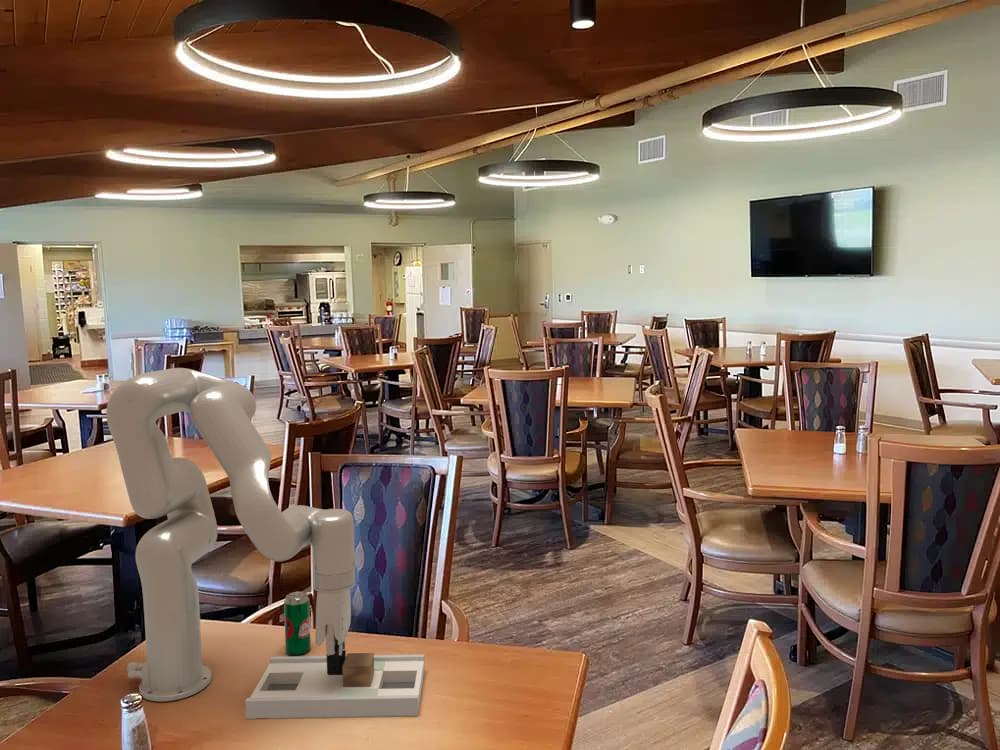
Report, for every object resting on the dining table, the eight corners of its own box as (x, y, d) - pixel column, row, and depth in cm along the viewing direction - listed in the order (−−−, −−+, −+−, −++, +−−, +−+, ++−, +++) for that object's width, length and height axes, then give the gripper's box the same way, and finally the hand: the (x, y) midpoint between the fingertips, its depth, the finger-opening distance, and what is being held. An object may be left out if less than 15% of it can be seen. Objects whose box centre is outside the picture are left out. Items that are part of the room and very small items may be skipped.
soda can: (303, 657, 152) (302, 601, 150) (281, 655, 153) (279, 599, 151) (314, 646, 157) (313, 591, 155) (292, 644, 158) (291, 590, 156)
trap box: (246, 718, 130) (245, 701, 129) (271, 672, 146) (271, 656, 145) (417, 715, 130) (417, 698, 130) (424, 670, 146) (424, 654, 146)
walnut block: (343, 687, 135) (342, 666, 135) (347, 673, 140) (347, 653, 140) (370, 686, 135) (370, 665, 135) (374, 672, 140) (373, 652, 140)
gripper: (322, 563, 143) (324, 654, 145) (303, 594, 128) (306, 694, 130) (361, 562, 143) (363, 653, 145) (347, 593, 128) (349, 694, 130)
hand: (336, 672), depth 138 cm, fingers closed
